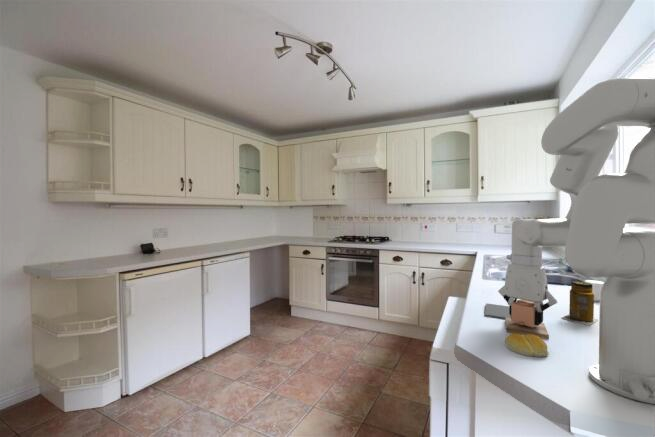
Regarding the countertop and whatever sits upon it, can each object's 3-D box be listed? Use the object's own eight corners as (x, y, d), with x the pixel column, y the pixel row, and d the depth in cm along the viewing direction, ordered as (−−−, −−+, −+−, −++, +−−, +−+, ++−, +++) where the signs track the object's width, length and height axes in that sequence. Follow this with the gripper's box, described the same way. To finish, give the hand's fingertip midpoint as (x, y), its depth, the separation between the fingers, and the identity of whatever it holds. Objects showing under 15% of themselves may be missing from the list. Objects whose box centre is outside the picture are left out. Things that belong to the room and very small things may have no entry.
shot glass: (580, 297, 122) (580, 280, 121) (589, 295, 124) (589, 279, 124) (601, 302, 115) (601, 284, 115) (610, 300, 118) (610, 282, 118)
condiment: (598, 320, 96) (599, 283, 96) (589, 325, 91) (590, 287, 91) (570, 313, 102) (571, 279, 102) (560, 318, 97) (561, 282, 97)
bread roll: (501, 341, 81) (501, 327, 81) (539, 346, 78) (540, 330, 78) (510, 355, 73) (510, 339, 73) (553, 360, 70) (553, 344, 70)
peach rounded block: (531, 328, 84) (532, 306, 84) (510, 322, 88) (510, 301, 88) (540, 322, 88) (541, 302, 88) (519, 316, 93) (520, 297, 93)
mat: (535, 323, 93) (535, 321, 93) (484, 316, 100) (484, 314, 100) (530, 311, 105) (531, 309, 105) (486, 304, 112) (486, 303, 112)
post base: (548, 339, 81) (548, 335, 81) (506, 332, 86) (506, 328, 86) (543, 327, 90) (544, 323, 90) (505, 321, 95) (505, 317, 95)
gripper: (490, 258, 93) (489, 315, 93) (557, 266, 79) (556, 333, 79) (501, 256, 97) (500, 311, 97) (566, 263, 83) (565, 327, 84)
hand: (525, 320), depth 88 cm, fingers closed on peach rounded block, 5 cm apart
